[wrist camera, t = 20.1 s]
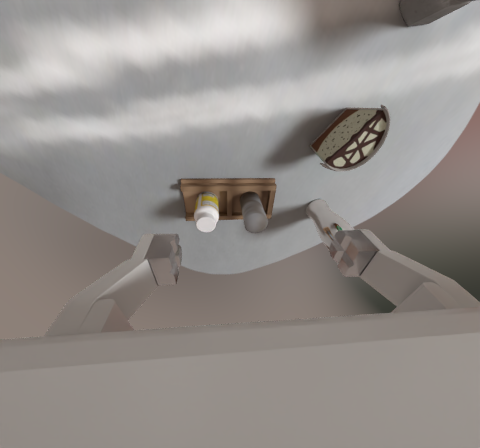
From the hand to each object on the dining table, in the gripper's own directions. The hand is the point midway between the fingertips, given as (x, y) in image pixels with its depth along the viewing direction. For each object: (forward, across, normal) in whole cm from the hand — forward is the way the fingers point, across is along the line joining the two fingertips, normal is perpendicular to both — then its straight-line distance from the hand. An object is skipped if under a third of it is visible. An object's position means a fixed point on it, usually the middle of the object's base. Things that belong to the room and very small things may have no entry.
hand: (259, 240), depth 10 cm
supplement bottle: (+34, -6, -17) cm, 38 cm away
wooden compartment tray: (+34, 0, -17) cm, 38 cm away
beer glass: (+35, +24, -20) cm, 47 cm away
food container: (+35, +23, -2) cm, 42 cm away
